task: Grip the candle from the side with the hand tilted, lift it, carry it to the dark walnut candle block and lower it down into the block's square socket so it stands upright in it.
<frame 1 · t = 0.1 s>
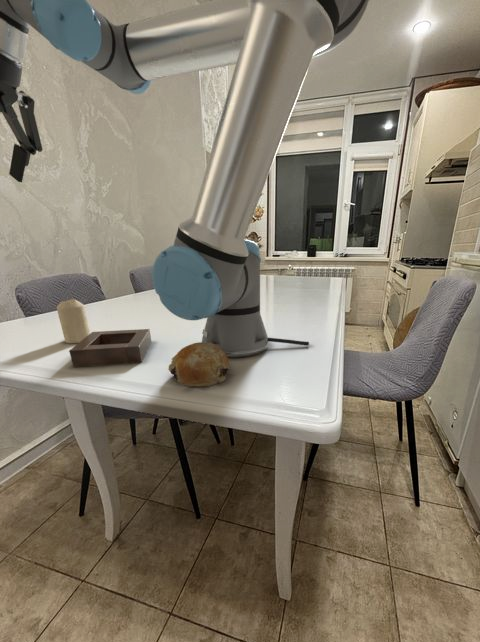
bread roll: (200, 377, 53), on the table
candle: (78, 340, 72), on the table
candle block: (116, 353, 63), on the table
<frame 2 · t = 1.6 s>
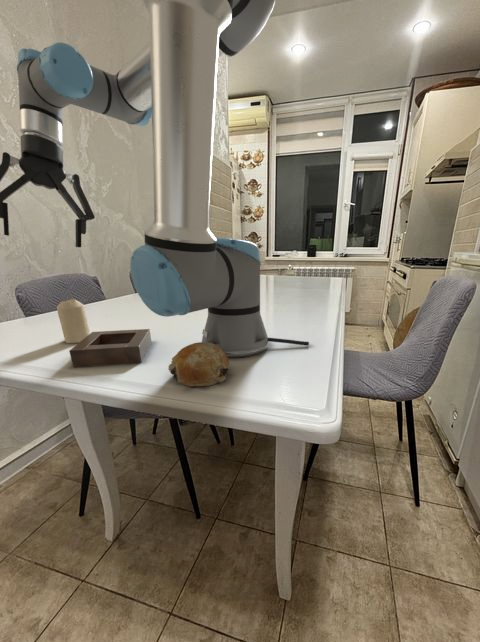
hand: (44, 241, 69), 23 cm above the table, tool pointing down, fingers open, 13 cm apart
nothing on the table moved.
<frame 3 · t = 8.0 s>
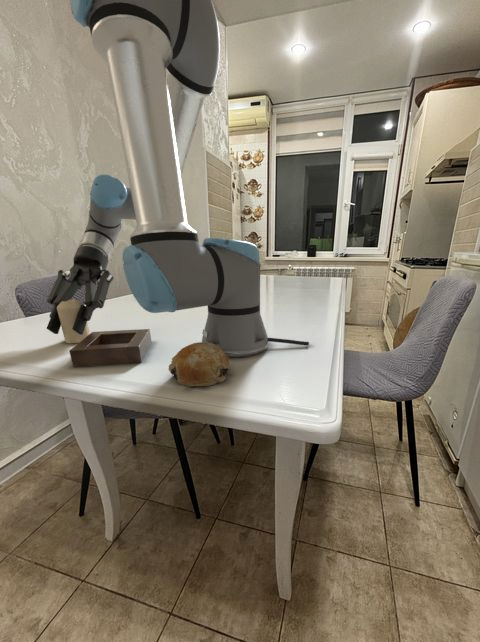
hand: (64, 331, 68), 3 cm above the table, tool tilted 45°, fingers closed on candle, 5 cm apart
candle: (78, 340, 72), on the table, touching gripper
everything else where it was.
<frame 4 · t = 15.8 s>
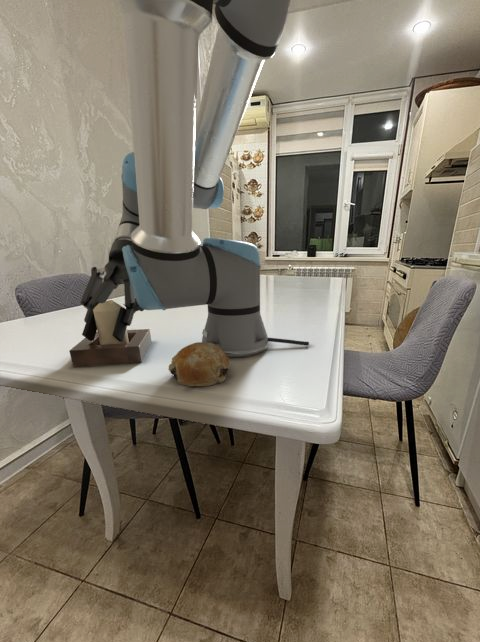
hand: (102, 338, 58), 5 cm above the table, tool tilted 45°, fingers closed on candle, 5 cm apart
candle: (115, 348, 63), point 1 cm above the table, touching gripper
everything else where it was.
when the fingers open (6 cm above the table, at t = 21.3 s): candle drops 3 cm, resting in candle block.
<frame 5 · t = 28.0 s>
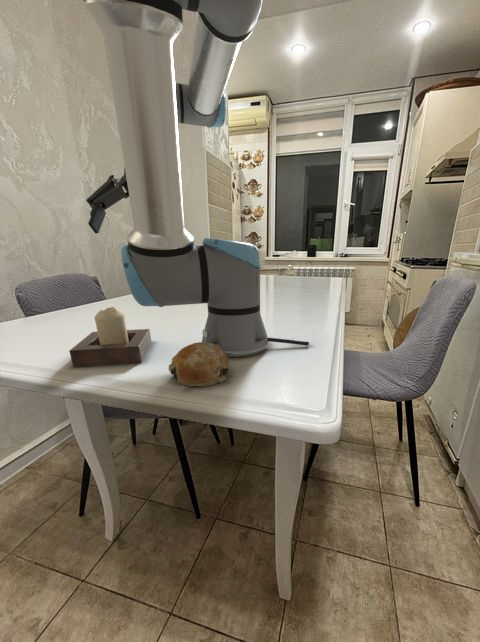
hand: (122, 228, 64), 26 cm above the table, tool tilted 45°, fingers open, 13 cm apart
candle: (116, 354, 63), resting in candle block
everything else where it was.
at the end: candle 0.0 cm off-centre in the candle block, point 0.0 cm above the candle block's base; candle tilted 0°; the gripper is holding nothing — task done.
